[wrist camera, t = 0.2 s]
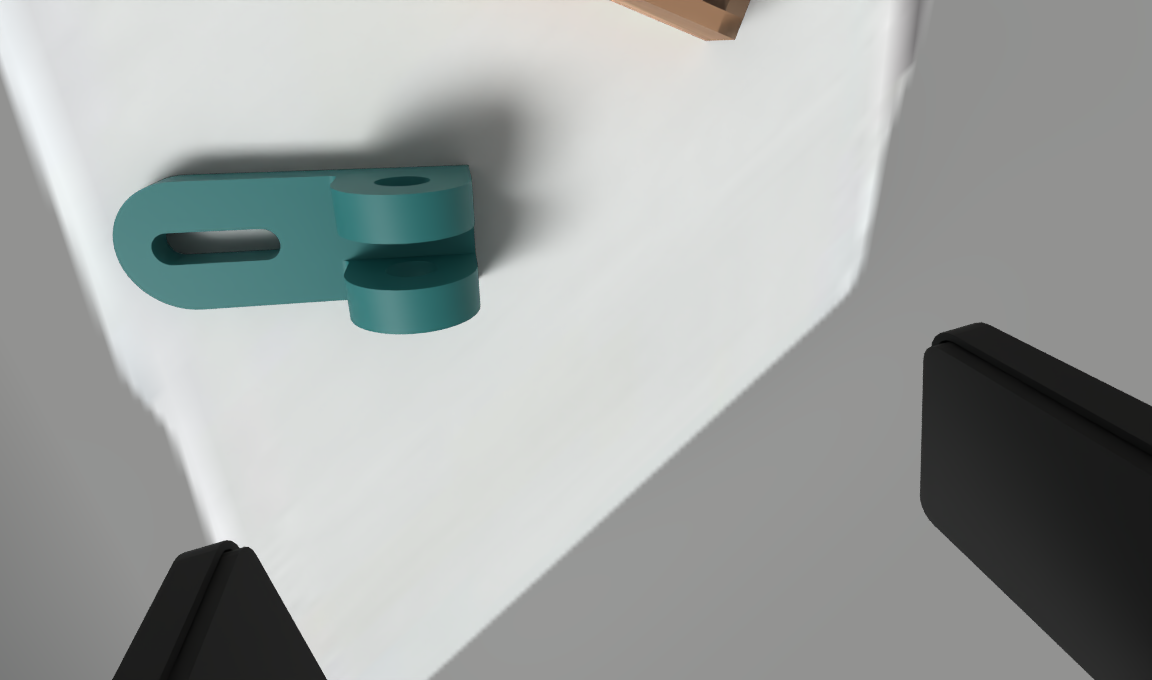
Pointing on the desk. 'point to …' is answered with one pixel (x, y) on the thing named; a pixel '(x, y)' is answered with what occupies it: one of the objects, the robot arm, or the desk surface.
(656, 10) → the brown angled open frame
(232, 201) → the bracket
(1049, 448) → the robot arm
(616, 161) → the desk surface
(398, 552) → the desk surface
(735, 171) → the desk surface
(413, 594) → the desk surface
